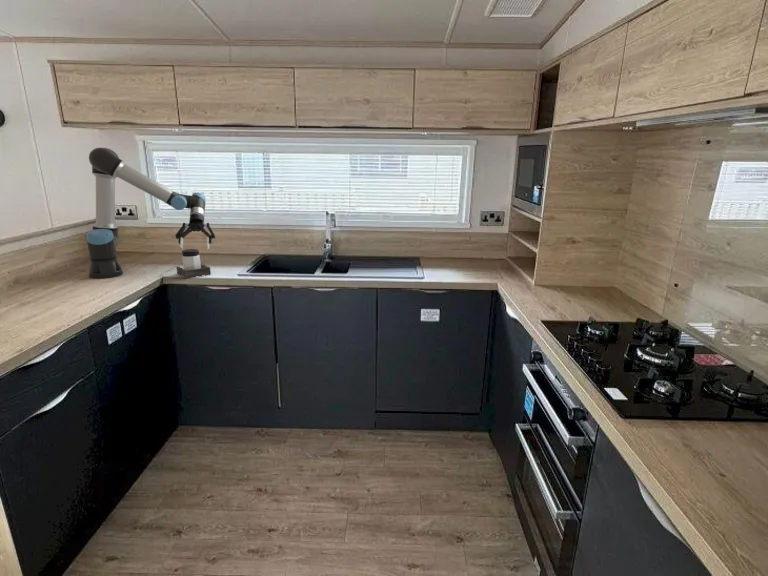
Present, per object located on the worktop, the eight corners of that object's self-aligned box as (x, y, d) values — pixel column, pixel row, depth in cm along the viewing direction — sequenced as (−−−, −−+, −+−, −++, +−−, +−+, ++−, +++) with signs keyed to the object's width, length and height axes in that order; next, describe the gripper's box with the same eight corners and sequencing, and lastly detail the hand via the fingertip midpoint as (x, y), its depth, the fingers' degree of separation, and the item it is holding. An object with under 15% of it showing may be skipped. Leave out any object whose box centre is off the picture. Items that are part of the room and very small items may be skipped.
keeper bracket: (177, 273, 232) (176, 266, 231) (201, 270, 241) (200, 263, 240) (186, 278, 223) (185, 271, 222) (210, 274, 232) (210, 267, 231)
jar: (203, 272, 231) (200, 250, 228) (187, 275, 226) (184, 252, 223) (198, 269, 238) (195, 248, 234) (182, 271, 233) (179, 249, 229)
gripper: (221, 221, 249) (219, 251, 240) (174, 221, 244) (171, 252, 234) (219, 212, 243) (217, 244, 233) (171, 212, 238) (167, 244, 228)
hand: (194, 248), depth 234 cm, fingers open, 13 cm apart
